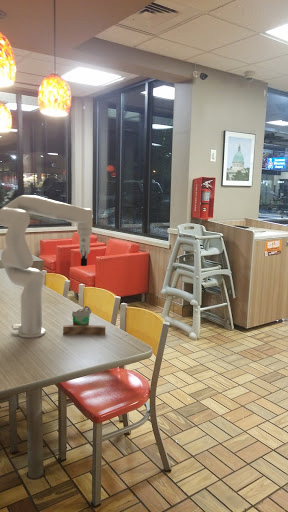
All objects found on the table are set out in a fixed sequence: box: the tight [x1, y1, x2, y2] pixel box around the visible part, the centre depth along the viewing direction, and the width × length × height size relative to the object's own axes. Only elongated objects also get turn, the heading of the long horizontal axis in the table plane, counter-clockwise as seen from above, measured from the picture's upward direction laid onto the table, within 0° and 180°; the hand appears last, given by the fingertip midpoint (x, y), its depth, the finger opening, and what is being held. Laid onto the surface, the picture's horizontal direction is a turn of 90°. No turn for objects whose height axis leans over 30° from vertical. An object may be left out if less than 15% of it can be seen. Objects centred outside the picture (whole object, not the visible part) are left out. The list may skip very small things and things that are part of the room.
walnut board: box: [62, 324, 106, 336], centre depth 188 cm, size 20×2×4 cm, turn 95°
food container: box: [71, 305, 92, 325], centre depth 195 cm, size 12×6×10 cm, turn 156°
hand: (83, 265), depth 210 cm, fingers closed
